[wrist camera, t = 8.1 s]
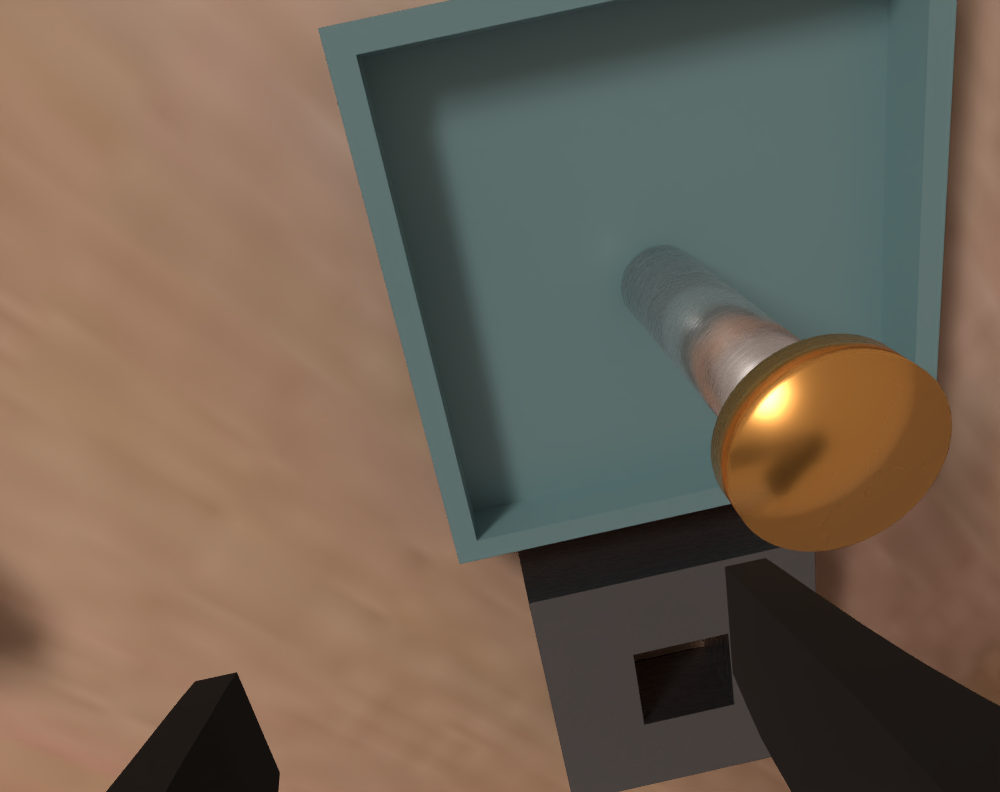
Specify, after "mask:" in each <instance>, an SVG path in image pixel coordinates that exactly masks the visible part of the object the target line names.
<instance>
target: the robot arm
mask: <svg viewBox="0 0 1000 792" xmlns="http://www.w3.org/2000/svg"><path fill="white" fill-rule="evenodd" d="M725 576H726V590H727V603H728V617H729V630H730V644H731V657H732V671H733V675H734V677H735V680H736V682H737V684H738V687H739V689H740V691H741V694H742V696H743V698H744V701H745V703H746V705H747V708H748V710H749V712H750V715H751V717H752V719H753V721H754V723H755V726H756V728H757V730H758V732H759V735H760V737H761V739H762V741H763V743H764V744H765V746H766V748H767V750H768V752H769V753H770V755H771V757H772V759H773V760H774V762H775V764H776V766H777V767H778V769H779V771H780V773H781V774H782V776H783V778H784V779H785V781H786V783H787V785H788V786H789V788H790V790H791V792H1000V706H999V705H997V704H995V703H993V702H991V701H989V700H988V699H986V698H984V697H982V696H980V695H978V694H976V693H975V692H973V691H971V690H969V689H968V688H966V687H964V686H962V685H961V684H959V683H957V682H956V681H954V680H952V679H950V678H949V677H947V676H945V675H943V674H942V673H940V672H938V671H936V670H935V669H933V668H931V667H930V666H928V665H926V664H924V663H923V662H921V661H920V660H918V659H916V658H915V657H913V656H911V655H910V654H908V653H906V652H905V651H903V650H902V649H900V648H899V647H897V646H895V645H894V644H892V643H891V642H889V641H888V640H886V639H885V638H883V637H881V636H880V635H878V634H877V633H875V632H874V631H872V630H871V629H869V628H867V627H866V626H864V625H863V624H861V623H860V622H858V621H857V620H855V619H854V618H852V617H851V616H849V615H848V614H846V613H845V612H843V611H842V610H840V609H839V608H838V607H836V606H835V605H833V604H832V603H830V602H829V601H827V600H826V599H824V598H823V597H821V596H820V595H819V594H817V593H816V592H814V591H813V590H811V589H810V588H809V587H807V586H806V585H804V584H803V583H801V582H800V581H799V580H797V579H796V578H794V577H793V576H791V575H790V574H788V573H787V572H786V571H784V570H783V569H781V568H780V567H778V566H777V565H775V564H774V563H772V562H771V561H769V560H768V559H767V558H763V559H758V560H753V561H749V562H744V563H740V564H735V565H730V566H726V567H725ZM279 776H280V772H279V770H278V768H277V765H276V763H275V760H274V758H273V756H272V753H271V751H270V749H269V746H268V744H267V742H266V739H265V737H264V735H263V732H262V730H261V728H260V725H259V723H258V721H257V718H256V716H255V714H254V711H253V709H252V707H251V704H250V702H249V700H248V697H247V695H246V693H245V690H244V688H243V686H242V683H241V681H240V679H239V676H238V674H237V672H236V673H232V674H227V675H222V676H218V677H213V678H209V679H204V680H199V681H195V682H194V683H193V685H192V686H191V687H190V688H189V689H188V690H187V692H186V693H185V694H184V695H183V696H182V698H181V699H180V700H179V701H178V702H177V704H176V705H175V706H174V707H173V709H172V710H171V711H170V712H169V714H168V715H167V716H166V717H165V719H164V720H163V721H162V723H161V724H160V725H159V726H158V728H157V729H156V730H155V731H154V733H153V734H152V735H151V736H150V738H149V739H148V740H147V742H146V743H145V744H144V745H143V747H142V748H141V749H140V750H139V752H138V753H137V754H136V755H135V757H134V758H133V759H132V760H131V762H130V763H129V764H128V765H127V767H126V768H125V769H124V770H123V772H122V773H121V774H120V775H119V777H118V778H117V779H116V780H115V781H114V783H113V784H112V785H111V786H110V788H109V789H108V790H107V791H106V792H278V788H279Z"/></svg>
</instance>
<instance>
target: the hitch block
mask: <svg viewBox="0 0 1000 792" xmlns="http://www.w3.org/2000/svg"><path fill="white" fill-rule="evenodd" d="M518 553H519V558H520V562H521V567H522V572H523V577H524V582H525V587H526V591H527V596H528V601H529V606H530V610H531V615H532V619H533V624H534V628H535V633H536V637H537V642H538V646H539V651H540V655H541V660H542V664H543V668H544V673H545V677H546V682H547V686H548V691H549V695H550V700H551V704H552V709H553V713H554V718H555V722H556V727H557V731H558V736H559V740H560V745H561V749H562V754H563V758H564V762H565V767H566V771H567V776H568V780H569V785H570V789H571V792H619V791H623V790H628V789H632V788H637V787H641V786H645V785H650V784H654V783H659V782H663V781H667V780H672V779H676V778H681V777H685V776H689V775H694V774H698V773H703V772H707V771H711V770H716V769H720V768H725V767H729V766H733V765H738V764H742V763H747V762H751V761H756V760H760V759H764V758H769V757H771V755H770V753H769V752H768V750H767V748H766V746H765V744H764V743H763V741H762V739H761V737H760V735H759V732H758V730H757V728H756V726H755V723H754V721H753V719H752V717H751V715H750V712H749V710H748V708H747V705H746V703H745V701H744V698H743V696H742V694H741V691H740V689H739V687H738V684H737V682H736V680H735V677H734V675H733V671H732V657H731V644H730V630H729V617H728V603H727V590H726V576H725V567H726V566H730V565H735V564H740V563H744V562H749V561H753V560H758V559H763V558H767V559H768V560H769V561H771V562H772V563H774V564H775V565H777V566H778V567H780V568H781V569H783V570H784V571H786V572H787V573H788V574H790V575H791V576H793V577H794V578H796V579H797V580H799V581H800V582H801V583H803V584H804V585H806V586H807V587H809V588H810V589H811V590H813V591H814V592H816V588H815V552H806V551H795V550H789V549H785V548H782V547H779V546H775V545H773V544H771V543H769V542H767V541H765V540H763V539H762V538H760V537H759V536H758V535H756V534H755V533H754V532H753V531H752V530H751V529H750V528H749V527H748V526H747V525H746V524H745V523H744V521H743V520H742V518H741V517H740V516H739V514H738V513H737V511H736V510H735V509H734V507H733V506H732V504H728V505H723V506H719V507H714V508H710V509H705V510H701V511H696V512H692V513H687V514H683V515H678V516H674V517H669V518H665V519H660V520H656V521H651V522H647V523H642V524H638V525H633V526H629V527H624V528H620V529H615V530H611V531H606V532H602V533H597V534H593V535H588V536H584V537H579V538H575V539H570V540H566V541H561V542H557V543H552V544H548V545H543V546H539V547H534V548H530V549H525V550H521V551H518ZM702 639H704V641H705V647H700V648H696V649H692V650H687V651H683V652H678V653H674V654H669V655H665V656H660V657H656V658H651V659H647V660H643V661H638V662H634V656H633V655H635V654H639V653H644V652H648V651H653V650H657V649H662V648H666V647H671V646H675V645H679V644H684V643H688V642H693V641H697V640H702Z"/></svg>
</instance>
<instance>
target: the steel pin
mask: <svg viewBox="0 0 1000 792" xmlns="http://www.w3.org/2000/svg"><path fill="white" fill-rule="evenodd" d="M621 293H622V297H623V300H624V303H625V305H626V306H627V308H628V309H629V310H630V311H631V313H632V314H633V315H634V316H635V317H636V319H637V320H638V321H639V322H640V324H641V325H642V326H643V327H644V328H645V330H646V331H647V332H648V333H649V334H650V336H651V337H652V338H653V339H654V341H655V342H656V343H657V344H658V345H659V347H660V348H661V349H662V350H663V351H664V353H665V354H666V355H667V356H668V358H669V359H670V360H671V361H672V362H673V364H674V365H675V366H676V367H677V368H678V370H679V371H680V372H681V373H682V375H683V376H684V377H685V378H686V379H687V381H688V382H689V383H690V384H691V385H692V387H693V388H694V389H695V390H696V392H697V393H698V394H699V395H700V396H701V398H702V399H703V400H704V401H705V402H706V404H707V405H708V406H709V407H710V409H711V410H712V411H713V412H714V413H715V415H716V416H717V420H716V423H715V427H714V430H713V434H712V440H711V463H712V469H713V472H714V475H715V479H716V481H717V483H718V485H719V487H720V488H721V490H722V491H723V493H724V494H725V496H726V497H727V499H728V500H729V501H730V503H731V504H732V506H733V507H734V509H735V510H736V511H737V513H738V514H739V516H740V517H741V518H742V520H743V521H744V523H745V524H746V525H747V526H748V527H749V528H750V529H751V530H752V531H753V532H754V533H755V534H756V535H758V536H759V537H760V538H762V539H763V540H765V541H767V542H769V543H771V544H773V545H775V546H779V547H782V548H785V549H789V550H795V551H806V552H815V551H827V550H833V549H838V548H842V547H846V546H850V545H853V544H855V543H858V542H861V541H863V540H866V539H868V538H870V537H872V536H874V535H876V534H878V533H879V532H881V531H883V530H884V529H886V528H888V527H889V526H891V525H892V524H894V523H895V522H896V521H898V520H899V519H900V518H902V517H903V516H904V515H905V514H906V513H907V512H908V511H910V510H911V509H912V508H913V507H914V506H915V505H916V504H917V503H918V502H919V500H920V499H921V498H922V497H923V496H924V495H925V493H926V492H927V491H928V489H929V488H930V487H931V485H932V484H933V482H934V481H935V479H936V477H937V476H938V474H939V472H940V470H941V468H942V466H943V463H944V461H945V458H946V455H947V452H948V449H949V445H950V440H951V430H952V420H951V411H950V407H949V404H948V400H947V398H946V396H945V394H944V392H943V390H942V388H941V387H940V385H939V384H938V383H937V381H936V380H935V379H934V378H933V377H932V376H931V375H930V374H929V373H928V372H927V371H925V370H924V369H922V368H921V367H919V366H918V365H916V364H915V363H913V362H911V361H910V360H908V359H907V358H905V357H904V356H902V355H901V354H899V353H897V352H896V351H894V350H893V349H891V348H890V347H888V346H886V345H885V344H883V343H881V342H879V341H877V340H874V339H872V338H869V337H865V336H861V335H855V334H846V333H842V334H826V335H820V336H815V337H811V338H807V339H804V340H800V339H798V338H797V337H796V336H795V335H793V334H792V333H791V332H789V331H788V330H787V329H785V328H784V327H783V326H781V325H780V324H779V323H777V322H776V321H775V320H774V319H772V318H771V317H770V316H768V315H767V314H766V313H764V312H763V311H762V310H760V309H759V308H758V307H757V306H755V305H754V304H753V303H751V302H750V301H749V300H747V299H746V298H745V297H743V296H742V295H741V294H739V293H738V292H737V291H736V290H734V289H733V288H732V287H730V286H729V285H728V284H726V283H725V282H724V281H722V280H721V279H720V278H718V277H717V276H716V275H715V274H713V273H712V272H711V271H709V270H708V269H707V268H705V267H704V266H703V265H701V264H700V263H699V262H697V261H696V260H695V259H694V258H692V257H691V256H690V255H688V254H687V253H686V252H684V251H683V250H681V249H679V248H677V247H674V246H669V245H659V246H654V247H651V248H648V249H646V250H644V251H642V252H641V253H639V254H638V255H637V256H636V257H635V258H634V259H633V260H632V261H631V262H630V263H629V265H628V266H627V268H626V270H625V272H624V275H623V278H622V283H621Z"/></svg>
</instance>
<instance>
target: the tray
mask: <svg viewBox="0 0 1000 792" xmlns="http://www.w3.org/2000/svg"><path fill="white" fill-rule="evenodd" d="M956 9H957V0H450V1H445V2H440V3H436V4H431V5H426V6H421V7H417V8H412V9H407V10H403V11H398V12H393V13H388V14H384V15H379V16H374V17H369V18H365V19H360V20H355V21H350V22H346V23H341V24H336V25H332V26H327V27H322V28H318V30H319V34H320V37H321V41H322V45H323V49H324V53H325V56H326V60H327V64H328V68H329V71H330V75H331V79H332V83H333V87H334V90H335V94H336V98H337V102H338V105H339V109H340V113H341V117H342V121H343V124H344V128H345V132H346V136H347V140H348V143H349V147H350V151H351V155H352V158H353V162H354V166H355V170H356V174H357V177H358V181H359V185H360V189H361V192H362V196H363V200H364V204H365V208H366V211H367V215H368V219H369V223H370V226H371V230H372V234H373V238H374V242H375V245H376V249H377V253H378V257H379V261H380V264H381V268H382V272H383V276H384V279H385V283H386V287H387V291H388V295H389V298H390V302H391V306H392V310H393V313H394V317H395V321H396V325H397V329H398V332H399V336H400V340H401V344H402V347H403V351H404V355H405V359H406V363H407V366H408V370H409V374H410V378H411V382H412V385H413V389H414V393H415V397H416V400H417V404H418V408H419V412H420V416H421V419H422V423H423V427H424V431H425V434H426V438H427V442H428V446H429V450H430V453H431V457H432V461H433V465H434V469H435V472H436V476H437V480H438V484H439V487H440V491H441V495H442V499H443V503H444V506H445V510H446V514H447V518H448V521H449V525H450V529H451V533H452V537H453V540H454V544H455V548H456V552H457V555H458V559H459V563H460V564H462V563H466V562H471V561H475V560H480V559H484V558H489V557H494V556H498V555H503V554H507V553H512V552H516V551H521V550H525V549H530V548H534V547H539V546H543V545H548V544H552V543H557V542H561V541H566V540H570V539H575V538H579V537H584V536H588V535H593V534H597V533H602V532H606V531H611V530H615V529H620V528H624V527H629V526H633V525H638V524H642V523H647V522H651V521H656V520H660V519H665V518H669V517H674V516H678V515H683V514H687V513H692V512H696V511H701V510H705V509H710V508H714V507H719V506H723V505H728V504H731V503H730V501H729V500H728V499H727V497H726V496H725V494H724V493H723V491H722V490H721V488H720V487H719V485H718V483H717V481H716V479H715V475H714V472H713V469H712V463H711V440H712V434H713V430H714V427H715V423H716V420H717V416H716V415H715V413H714V412H713V411H712V410H711V409H710V407H709V406H708V405H707V404H706V402H705V401H704V400H703V399H702V398H701V396H700V395H699V394H698V393H697V392H696V390H695V389H694V388H693V387H692V385H691V384H690V383H689V382H688V381H687V379H686V378H685V377H684V376H683V375H682V373H681V372H680V371H679V370H678V368H677V367H676V366H675V365H674V364H673V362H672V361H671V360H670V359H669V358H668V356H667V355H666V354H665V353H664V351H663V350H662V349H661V348H660V347H659V345H658V344H657V343H656V342H655V341H654V339H653V338H652V337H651V336H650V334H649V333H648V332H647V331H646V330H645V328H644V327H643V326H642V325H641V324H640V322H639V321H638V320H637V319H636V317H635V316H634V315H633V314H632V313H631V311H630V310H629V309H628V308H627V306H626V305H625V303H624V300H623V297H622V293H621V283H622V278H623V275H624V272H625V270H626V268H627V266H628V265H629V263H630V262H631V261H632V260H633V259H634V258H635V257H636V256H637V255H638V254H639V253H641V252H642V251H644V250H646V249H648V248H651V247H654V246H659V245H669V246H674V247H677V248H679V249H681V250H683V251H684V252H686V253H687V254H688V255H690V256H691V257H692V258H694V259H695V260H696V261H697V262H699V263H700V264H701V265H703V266H704V267H705V268H707V269H708V270H709V271H711V272H712V273H713V274H715V275H716V276H717V277H718V278H720V279H721V280H722V281H724V282H725V283H726V284H728V285H729V286H730V287H732V288H733V289H734V290H736V291H737V292H738V293H739V294H741V295H742V296H743V297H745V298H746V299H747V300H749V301H750V302H751V303H753V304H754V305H755V306H757V307H758V308H759V309H760V310H762V311H763V312H764V313H766V314H767V315H768V316H770V317H771V318H772V319H774V320H775V321H776V322H777V323H779V324H780V325H781V326H783V327H784V328H785V329H787V330H788V331H789V332H791V333H792V334H793V335H795V336H796V337H797V338H798V339H800V340H804V339H807V338H811V337H815V336H820V335H826V334H842V333H846V334H855V335H861V336H865V337H869V338H872V339H874V340H877V341H879V342H881V343H883V344H885V345H886V346H888V347H890V348H891V349H893V350H894V351H896V352H897V353H899V354H901V355H902V356H904V357H905V358H907V359H908V360H910V361H911V362H913V363H915V364H916V365H918V366H919V367H921V368H922V369H924V370H925V371H927V372H928V373H929V374H930V375H931V376H932V377H933V378H934V379H935V380H936V381H937V365H938V347H939V328H940V309H941V290H942V272H943V253H944V234H945V215H946V197H947V178H948V159H949V140H950V122H951V103H952V84H953V65H954V46H955V28H956Z"/></svg>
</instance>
